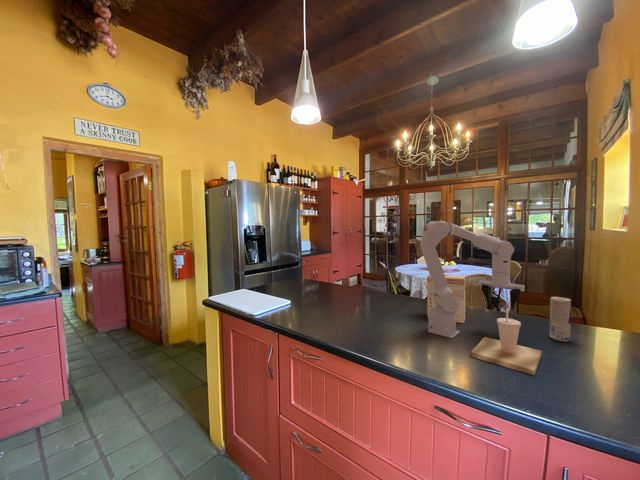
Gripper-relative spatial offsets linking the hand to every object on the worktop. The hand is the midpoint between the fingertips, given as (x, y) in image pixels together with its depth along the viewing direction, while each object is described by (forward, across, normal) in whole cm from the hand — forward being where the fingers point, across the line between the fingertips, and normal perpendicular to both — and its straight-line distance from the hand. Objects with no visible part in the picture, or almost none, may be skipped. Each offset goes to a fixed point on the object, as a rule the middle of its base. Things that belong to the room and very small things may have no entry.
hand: (500, 306), depth 103 cm
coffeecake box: (+11, +21, -3) cm, 24 cm away
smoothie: (+9, -6, +19) cm, 22 cm away
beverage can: (+11, -17, -8) cm, 21 cm away
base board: (+10, -6, +20) cm, 23 cm away
